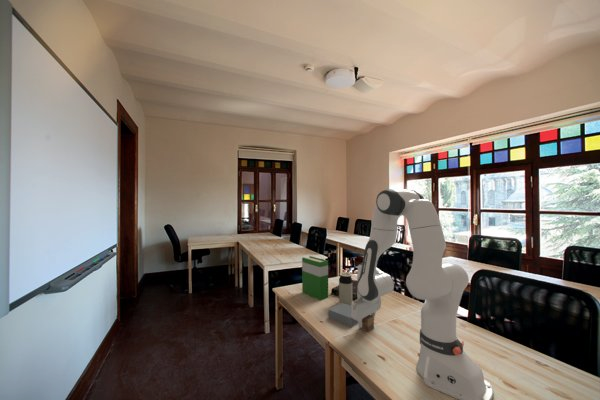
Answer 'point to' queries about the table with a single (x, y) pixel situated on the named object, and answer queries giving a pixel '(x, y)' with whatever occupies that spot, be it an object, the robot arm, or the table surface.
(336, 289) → the diary
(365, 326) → the walnut block
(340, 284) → the travel mug
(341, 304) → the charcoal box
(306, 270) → the green cereal box
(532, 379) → the table surface
